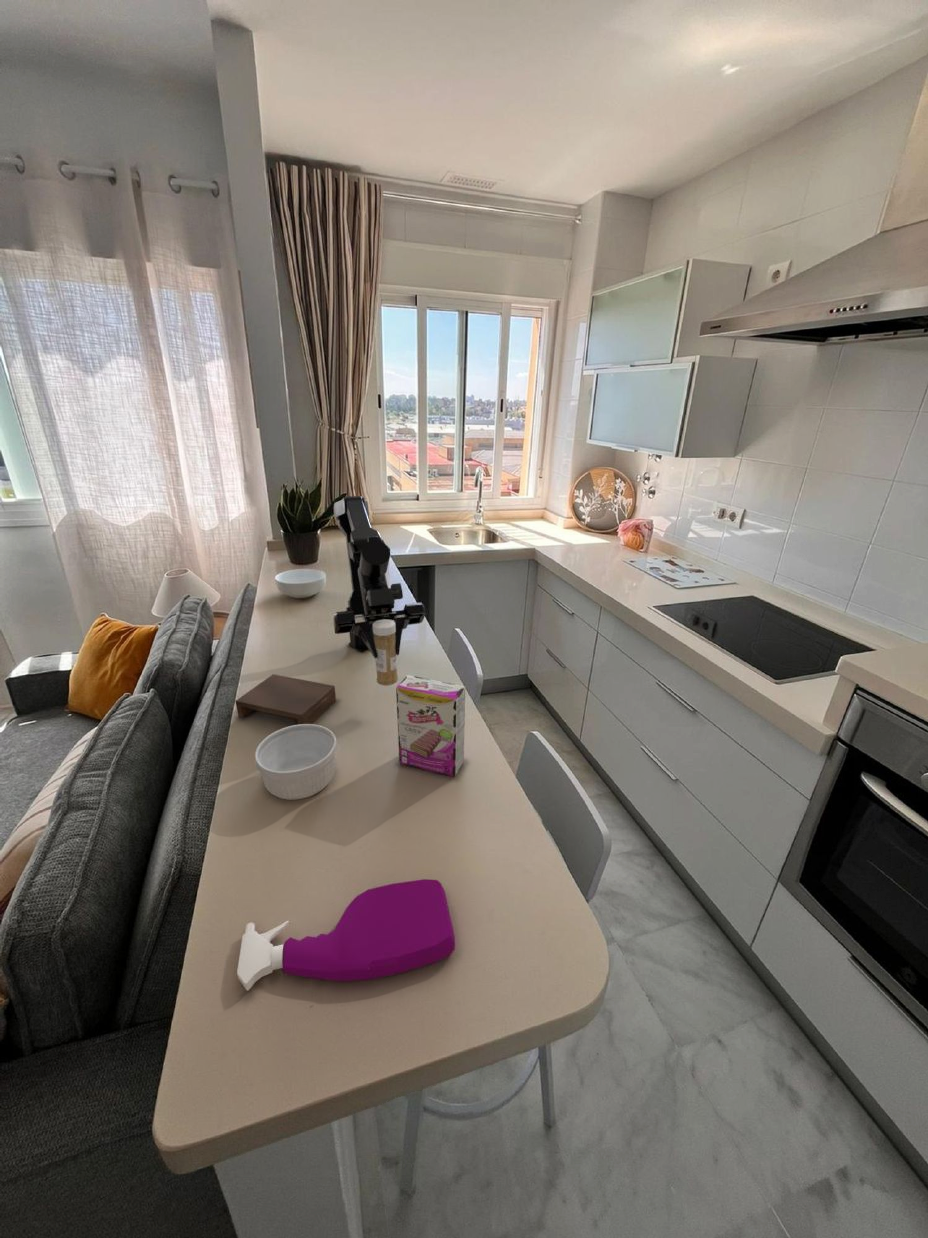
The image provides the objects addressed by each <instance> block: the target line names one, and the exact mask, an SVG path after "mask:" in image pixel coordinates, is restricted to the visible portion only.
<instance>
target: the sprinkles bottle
mask: <svg viewBox="0 0 928 1238" xmlns="http://www.w3.org/2000/svg"><path fill="white" fill-rule="evenodd" d="M395 631H396V627H395V622H394V620H393V621H392V620H388V619H382V620H378V621H375V622H374V623H373V634H374V641H375V648H376V652H377V658H374V659H375V660H374V661H375V670H376V679H375V680H376V683H377V684H378V685H380V686H386V687H387V686H392V685H394V684H396V683H397V682H398V680H399V678H398V667H397V666H398V662H397V655H396V646H395Z"/></svg>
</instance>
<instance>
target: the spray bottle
mask: <svg viewBox="0 0 928 1238" xmlns="http://www.w3.org/2000/svg"><path fill="white" fill-rule="evenodd" d="M447 899H448V898H447V894H446V891H445V889H444V887H443V885H442V883H441V881H439V880H437V879H424V878H423V879H417V880H410V881H401V882H395V883H390V884H385V885H381V886H377V887H372V888H368V889H366V890H365V891H363V892H361V893H359V894H358V895H357V896H356V897H355V898H354V899H353V900H352V901H351V902H350V903H349V904H348V905H347V907H345V909H344V911H343V913H342V915H341V917H340V918H339V920H338V922H337V923H336V926H335V928H333V930H331V931H330V932H328V933H327V934H326V933H320V934H318V935H317V936H308V935H306V936H305V937H303V938H301V939H297V938H294V937H291V936H289V937H288V938H287V939H285V941H284V943H282V944H279V945H275V946H274V944H273V943H271V941H272V940H273V939H274V938H276V936H277V935H279V934H280V933H281V932H282V931H283V930H284V929H286V927H288V926H289V925H290V921H289V920H286V921H285V922H282V924H280V925H278V926H276V927H274V928H272V929H270V930H268V931H266V932H263V933H259V932H258V931H257V930H256V924H255V922H248V923H247V924H246V925H245V929H244V930H245V931H244V933H243V934H242V937H241V944H240V951H239V957H238V962H237V963H238V964H237V970H236V975H237V979H238V980H239V982H240V983H241V984H242V986H243V987H244V989H245V990H246V992H247V991H250V989H251V988H252V987H253V986H254V984H255V983H256V982H257V981H259V980H260V979H261V978H262V977H265V976H267V975H270V974H273V971H276V970H280V969H283V973H284V974H287V975H292V976H297V977H303V978H304V977H305V978H311V979H317V980H325V981H336V982H353V981H367V980H372V979H373V980H374V979H379V978H384V977H389V976H390V977H391V976H394V975H399V974H402V973H405V972H409V971H412V970H415V969H419V968H423V967H426V966H429V965H432V964H434V963H437V962H440V961H441V960H444V959H446V958H448V957H451V955H452V953H453V952H454V951H455V950H456V935H455V932H454V926H453V921H452V917H451V913H450V909H449V908H450V907H449V903H448V900H447Z"/></svg>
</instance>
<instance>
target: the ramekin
mask: <svg viewBox="0 0 928 1238" xmlns="http://www.w3.org/2000/svg"><path fill="white" fill-rule="evenodd" d="M337 750H338V743H337V738H336V735H335V733H334V732H333V731H332V730H331V729H329V728H327V727H325V726H323V725H320V724H315V723H313V724H299V725H298V724H294V725H293V724H292V725H289V726H286V727H283V728H280V729H278V730H276V731H274V732H272V733H269V735H267V736H266V737H265V738H264V739H262V741H260V743H259V744H258V745H257V747H256V749H255V752H254V761H255V766H256V768H257V770H258V771H259V773H260V775H261V779H262V782H263V784H264V787H265V788H266V790H267V791H268V792H269V793H270V794H272V795H273V796H275V797H277V798H279V799H282V800H285V801H286V800H288V801H297V800H304V799H307V798H309V797H312V796H314V795H316V794H318V793H319V792H321V791H322V790H323V789H325V788H326V787H327V785H329V784H330V782H331V781H332V779H333V777H334V775H335V772H336V760H337V759H336V758H337V757H336V756H337Z"/></svg>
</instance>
